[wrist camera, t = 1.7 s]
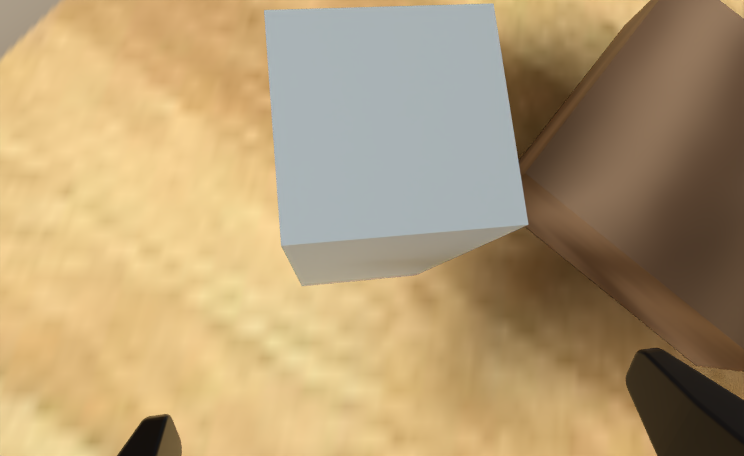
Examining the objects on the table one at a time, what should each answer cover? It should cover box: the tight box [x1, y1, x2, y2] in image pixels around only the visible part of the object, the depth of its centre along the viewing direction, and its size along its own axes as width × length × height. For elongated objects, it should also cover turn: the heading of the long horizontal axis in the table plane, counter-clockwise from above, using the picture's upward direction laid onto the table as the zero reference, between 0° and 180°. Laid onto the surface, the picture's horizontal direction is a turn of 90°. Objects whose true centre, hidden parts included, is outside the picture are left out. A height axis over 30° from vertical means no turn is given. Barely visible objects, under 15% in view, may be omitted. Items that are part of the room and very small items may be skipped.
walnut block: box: [518, 0, 744, 371], centre depth 22 cm, size 12×12×4 cm
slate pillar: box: [264, 4, 529, 286], centre depth 16 cm, size 5×5×12 cm
